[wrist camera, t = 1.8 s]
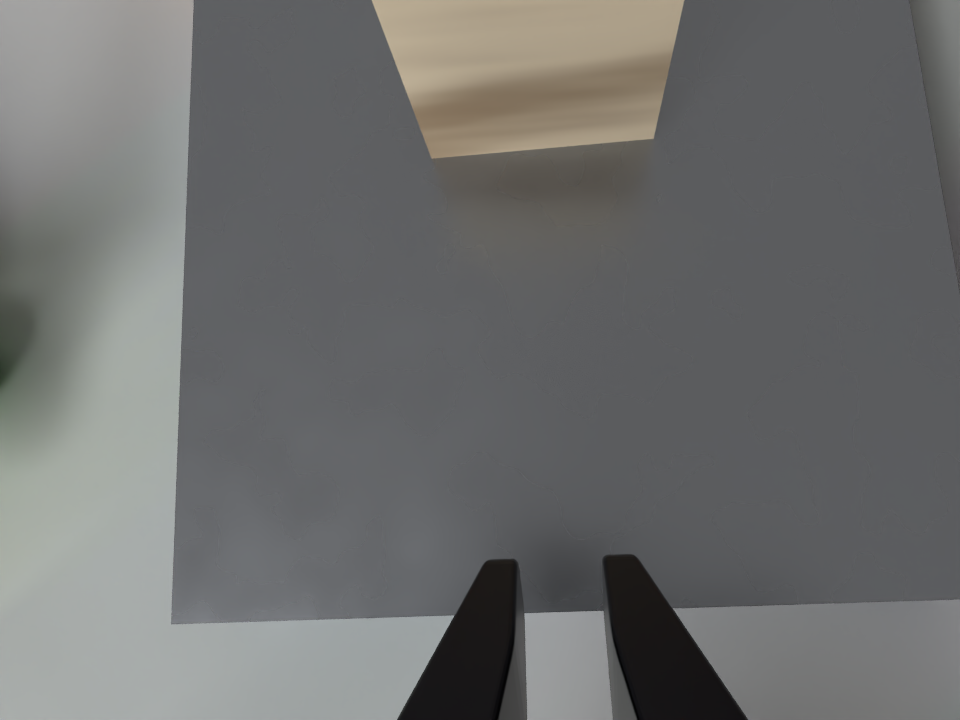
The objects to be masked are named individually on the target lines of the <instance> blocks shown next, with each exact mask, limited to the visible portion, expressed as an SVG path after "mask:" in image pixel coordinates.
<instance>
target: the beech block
mask: <svg viewBox="0 0 960 720" xmlns="http://www.w3.org/2000/svg"><path fill="white" fill-rule="evenodd" d="M372 2H373V5H374V8H375V10H376V13H377V16H378V18H379V21H380V23H381V26H382V29H383V31H384V34H385V37H386V39H387V42H388V45H389V47H390V50H391V53H392V55H393V58H394V61H395V63H396V66H397V68H398V71H399V74H400V76H401V79H402V82H403V84H404V87H405V90H406V92H407V95H408V98H409V100H410V103H411V105H412V108H413V111H414V113H415V116H416V119H417V121H418V124H419V127H420V129H421V132H422V135H423V137H424V140H425V143H426V145H427V148H428V150H429V153H430V156H431V158H432V159H433V158H444V157H455V156H466V155H477V154H489V153H500V152H511V151H522V150H533V149H545V148H556V147H567V146H578V145H589V144H600V143H612V142H623V141H634V140H645V139H654V135H655V130H656V126H657V121H658V117H659V112H660V107H661V103H662V98H663V94H664V89H665V85H666V80H667V76H668V71H669V67H670V62H671V58H672V53H673V49H674V44H675V40H676V35H677V31H678V26H679V22H680V17H681V13H682V8H683V4H684V0H372Z"/></svg>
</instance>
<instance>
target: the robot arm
mask: <svg viewBox="0 0 960 720" xmlns="http://www.w3.org/2000/svg"><path fill="white" fill-rule="evenodd" d="M602 584H603V608H604V621H605V632H606V644H607V655H608V667H609V678H610V690H611V701H612V713H613V720H748V719H747V717H746V716H745V714H744V713H743V712H742V710H741V709H740V707H739V706H738V704H737V703H736V701H735V700H734V698H733V697H732V695H731V694H730V692H729V691H728V689H727V688H726V687H725V685H724V684H723V682H722V681H721V679H720V678H719V676H718V675H717V673H716V672H715V670H714V669H713V667H712V666H711V664H710V663H709V662H708V660H707V659H706V657H705V656H704V654H703V653H702V651H701V650H700V648H699V647H698V645H697V644H696V642H695V641H694V639H693V638H692V637H691V635H690V634H689V632H688V631H687V629H686V628H685V626H684V625H683V623H682V622H681V620H680V619H679V617H678V616H677V614H676V613H675V612H674V610H673V609H672V607H671V606H670V604H669V603H668V601H667V600H666V598H665V597H664V595H663V594H662V592H661V591H660V589H659V588H658V587H657V585H656V584H655V582H654V581H653V579H652V578H651V576H650V575H649V573H648V572H647V570H646V569H645V567H644V566H643V564H642V563H641V562H640V560H639V559H638V558H637V557H636V556H635V555H633V554H613V555H605V556H604V557H603V559H602ZM397 720H527V694H526V656H525V619H524V603H523V595H522V586H521V577H520V569H519V564H518V562H517V560H515V559H490V560H487V561H486V562H485V563H484V564H483V565H482V567H481V569H480V570H479V572H478V574H477V576H476V578H475V579H474V581H473V583H472V585H471V587H470V589H469V590H468V592H467V594H466V596H465V598H464V599H463V601H462V603H461V605H460V607H459V608H458V610H457V612H456V614H455V616H454V618H453V619H452V621H451V623H450V625H449V627H448V628H447V630H446V632H445V634H444V636H443V637H442V639H441V641H440V643H439V645H438V646H437V648H436V650H435V652H434V654H433V656H432V657H431V659H430V661H429V663H428V665H427V666H426V668H425V670H424V672H423V674H422V675H421V677H420V679H419V681H418V683H417V685H416V686H415V688H414V690H413V692H412V694H411V695H410V697H409V699H408V701H407V703H406V704H405V706H404V708H403V710H402V712H401V713H400V715H399V717H398V719H397Z"/></svg>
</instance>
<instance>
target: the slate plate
mask: <svg viewBox="0 0 960 720" xmlns="http://www.w3.org/2000/svg"><path fill="white" fill-rule="evenodd" d="M613 554H633V555H635V556H636V557H637V558H638V559H639V560H640V562H641V563H642V564H643V566H644V567H645V569H646V570H647V572H648V573H649V575H650V576H651V578H652V579H653V581H654V582H655V584H656V585H657V587H658V588H659V589H660V591H661V592H662V594H663V595H664V597H665V598H666V600H667V601H668V603H669V604H670V606H671V607H672V608H699V607H731V606H762V605H794V604H825V603H857V602H889V601H920V600H952V599H960V291H959V285H958V280H957V274H956V268H955V262H954V256H953V251H952V245H951V239H950V233H949V228H948V222H947V216H946V210H945V204H944V199H943V193H942V187H941V181H940V175H939V170H938V164H937V158H936V152H935V147H934V141H933V135H932V129H931V123H930V118H929V112H928V106H927V100H926V95H925V89H924V83H923V77H922V71H921V66H920V60H919V54H918V48H917V42H916V37H915V31H914V25H913V19H912V14H911V8H910V2H909V0H684V4H683V8H682V13H681V17H680V22H679V26H678V31H677V35H676V40H675V44H674V49H673V53H672V58H671V62H670V67H669V71H668V76H667V80H666V85H665V89H664V94H663V98H662V103H661V107H660V112H659V117H658V121H657V126H656V130H655V135H654V139H645V140H634V141H623V142H612V143H600V144H589V145H578V146H567V147H556V148H545V149H533V150H522V151H511V152H500V153H489V154H477V155H466V156H455V157H444V158H433V159H432V158H431V156H430V153H429V150H428V148H427V145H426V143H425V140H424V137H423V135H422V132H421V129H420V127H419V124H418V121H417V119H416V116H415V113H414V111H413V108H412V105H411V103H410V100H409V98H408V95H407V92H406V90H405V87H404V84H403V82H402V79H401V76H400V74H399V71H398V68H397V66H396V63H395V61H394V58H393V55H392V53H391V50H390V47H389V45H388V42H387V39H386V37H385V34H384V31H383V29H382V26H381V23H380V21H379V18H378V16H377V13H376V10H375V8H374V5H373V2H372V0H194V13H193V41H192V68H191V95H190V123H189V150H188V178H187V205H186V233H185V260H184V288H183V315H182V343H181V370H180V398H179V425H178V453H177V480H176V508H175V535H174V562H173V590H172V617H171V624H194V623H225V622H257V621H288V620H320V619H352V618H383V617H415V616H446V615H455V614H456V612H457V610H458V608H459V607H460V605H461V603H462V601H463V599H464V598H465V596H466V594H467V592H468V590H469V589H470V587H471V585H472V583H473V581H474V579H475V578H476V576H477V574H478V572H479V570H480V569H481V567H482V565H483V564H484V563H485V562H486V561H487V560H490V559H515V560H517V562H518V564H519V569H520V577H521V586H522V595H523V603H524V613H541V612H573V611H604V608H603V584H602V559H603V557H604V556H605V555H613Z"/></svg>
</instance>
